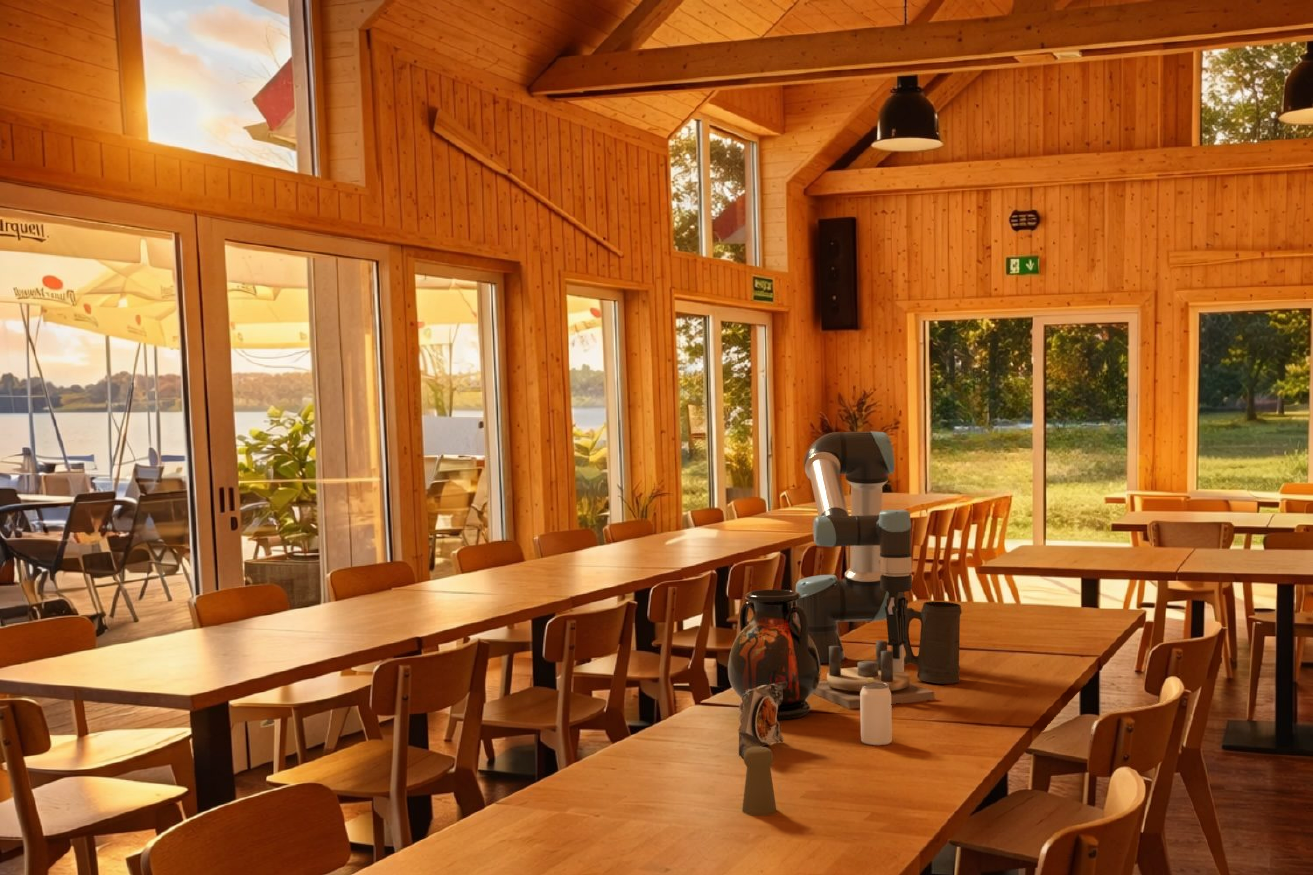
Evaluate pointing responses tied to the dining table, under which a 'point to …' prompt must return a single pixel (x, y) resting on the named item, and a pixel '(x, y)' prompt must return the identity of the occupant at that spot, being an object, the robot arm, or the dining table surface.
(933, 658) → the beer stein
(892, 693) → the stand
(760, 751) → the brown tapered piece
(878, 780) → the dining table surface
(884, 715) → the can
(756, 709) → the meal
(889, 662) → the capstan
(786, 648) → the amphora vase
